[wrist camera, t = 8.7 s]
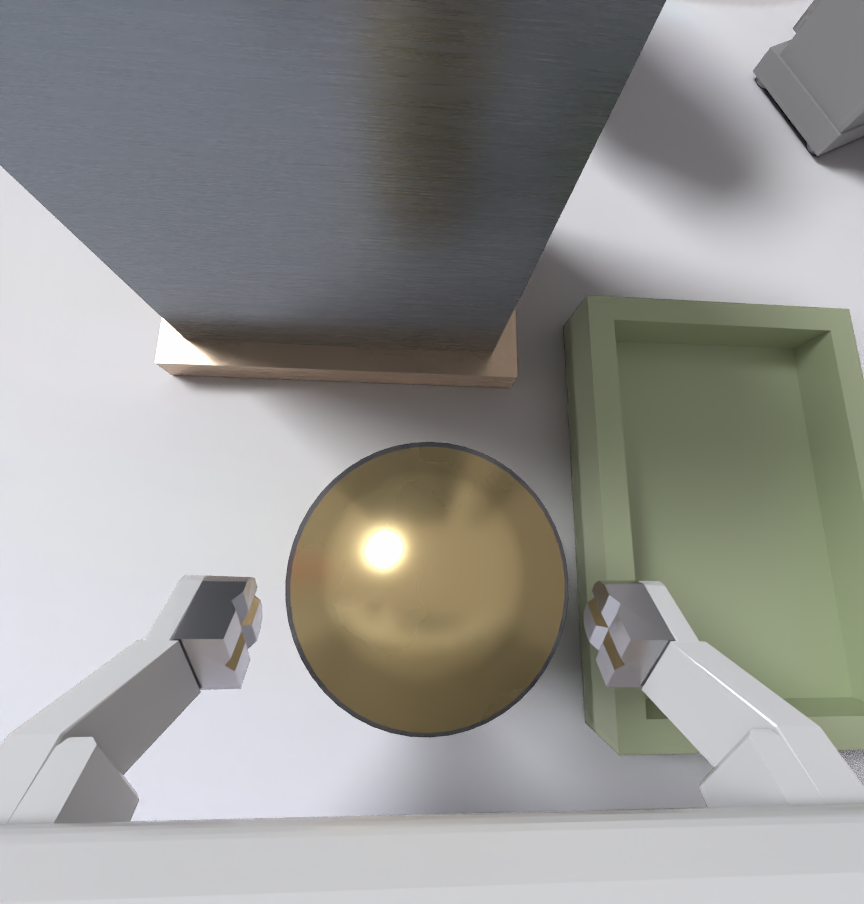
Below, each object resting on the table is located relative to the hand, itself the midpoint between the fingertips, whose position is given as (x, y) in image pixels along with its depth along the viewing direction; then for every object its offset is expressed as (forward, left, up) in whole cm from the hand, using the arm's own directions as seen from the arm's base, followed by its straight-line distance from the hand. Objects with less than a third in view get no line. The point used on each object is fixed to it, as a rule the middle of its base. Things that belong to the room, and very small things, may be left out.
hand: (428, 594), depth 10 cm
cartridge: (+1, 0, -6) cm, 6 cm away
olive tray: (+3, -12, -6) cm, 14 cm away
